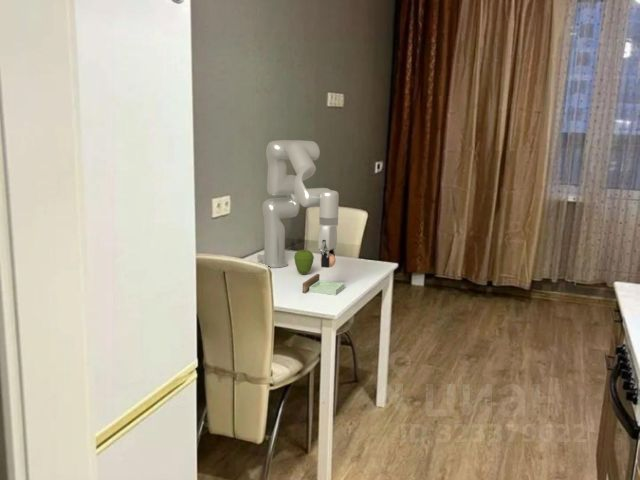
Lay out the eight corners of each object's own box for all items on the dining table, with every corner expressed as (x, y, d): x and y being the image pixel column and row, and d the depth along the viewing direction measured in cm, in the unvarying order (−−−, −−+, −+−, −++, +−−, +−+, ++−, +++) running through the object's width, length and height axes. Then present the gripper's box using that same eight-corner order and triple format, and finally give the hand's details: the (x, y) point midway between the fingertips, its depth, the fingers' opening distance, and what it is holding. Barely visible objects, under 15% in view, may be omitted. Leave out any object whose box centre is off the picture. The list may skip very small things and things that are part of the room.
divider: (302, 293, 242) (302, 283, 241) (316, 283, 257) (316, 273, 256) (305, 293, 241) (305, 283, 241) (319, 283, 256) (319, 274, 255)
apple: (295, 276, 265) (295, 251, 263) (293, 272, 274) (293, 247, 271) (314, 276, 267) (315, 251, 264) (312, 271, 275) (312, 246, 273)
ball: (318, 268, 243) (318, 253, 242) (323, 265, 248) (323, 250, 247) (332, 269, 241) (332, 255, 240) (337, 266, 246) (337, 252, 245)
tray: (309, 291, 243) (309, 287, 243) (319, 284, 254) (319, 280, 253) (335, 295, 240) (335, 290, 239) (344, 288, 250) (344, 283, 249)
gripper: (327, 217, 250) (326, 260, 254) (312, 224, 234) (311, 269, 238) (344, 218, 247) (343, 261, 251) (330, 225, 232) (329, 271, 235)
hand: (327, 264), depth 244 cm, fingers closed on ball, 5 cm apart
